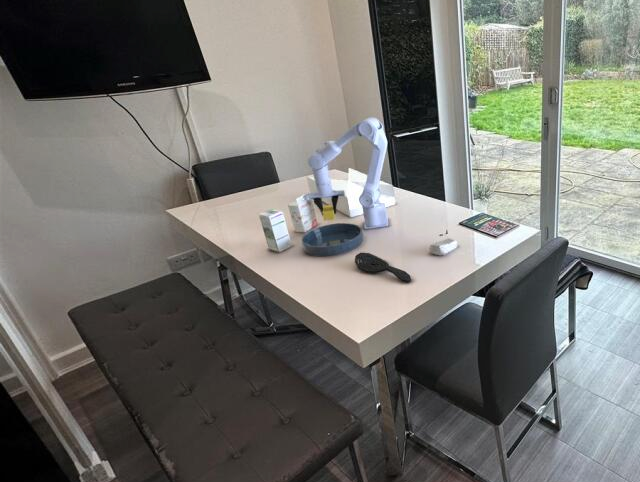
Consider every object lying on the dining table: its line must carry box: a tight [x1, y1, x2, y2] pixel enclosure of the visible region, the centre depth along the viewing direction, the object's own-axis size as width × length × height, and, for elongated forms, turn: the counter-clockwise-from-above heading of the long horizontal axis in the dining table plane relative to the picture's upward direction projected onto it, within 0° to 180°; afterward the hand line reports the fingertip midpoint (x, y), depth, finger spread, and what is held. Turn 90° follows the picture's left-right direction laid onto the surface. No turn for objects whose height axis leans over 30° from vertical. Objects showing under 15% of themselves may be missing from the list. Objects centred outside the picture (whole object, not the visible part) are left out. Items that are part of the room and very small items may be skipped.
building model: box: [306, 167, 396, 218], centre depth 199 cm, size 45×22×10 cm, turn 46°
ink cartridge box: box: [287, 191, 318, 233], centre depth 166 cm, size 9×5×15 cm, turn 168°
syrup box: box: [258, 209, 292, 253], centre depth 149 cm, size 6×6×14 cm
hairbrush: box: [354, 251, 412, 283], centre depth 135 cm, size 8×4×25 cm
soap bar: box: [429, 237, 458, 256], centre depth 148 cm, size 10×6×6 cm, turn 134°
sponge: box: [321, 204, 336, 222], centre depth 169 cm, size 4×7×4 cm, turn 19°
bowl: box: [301, 222, 364, 257], centre depth 154 cm, size 21×21×4 cm
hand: (329, 213), depth 169 cm, fingers closed on sponge, 4 cm apart
